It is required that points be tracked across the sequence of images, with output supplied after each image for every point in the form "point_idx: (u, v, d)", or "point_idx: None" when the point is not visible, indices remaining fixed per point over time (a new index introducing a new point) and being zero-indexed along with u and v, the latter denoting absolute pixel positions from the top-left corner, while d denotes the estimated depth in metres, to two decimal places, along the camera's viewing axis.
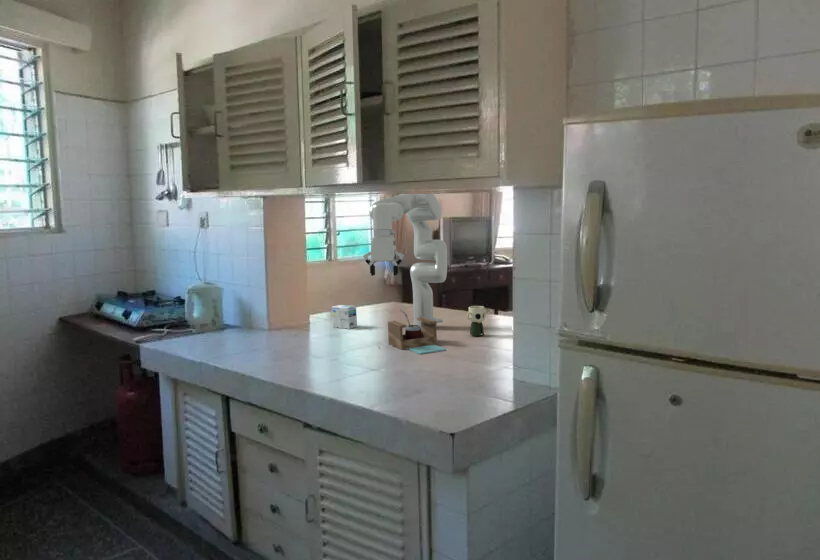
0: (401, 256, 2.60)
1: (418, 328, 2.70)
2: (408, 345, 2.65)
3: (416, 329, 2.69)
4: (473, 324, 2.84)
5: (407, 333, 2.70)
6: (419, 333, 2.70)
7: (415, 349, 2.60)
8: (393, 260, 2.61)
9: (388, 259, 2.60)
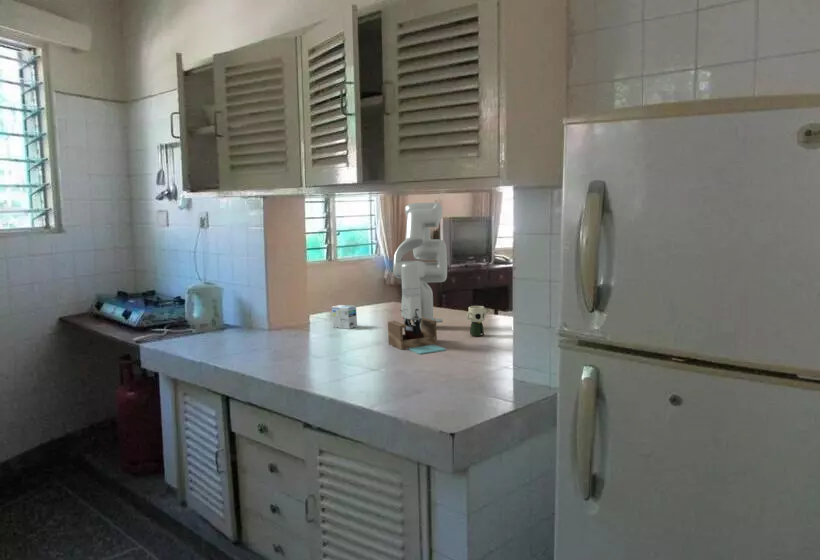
0: None
1: None
2: (408, 345, 2.65)
3: None
4: (473, 324, 2.84)
5: (407, 333, 2.70)
6: None
7: (415, 349, 2.60)
8: None
9: None
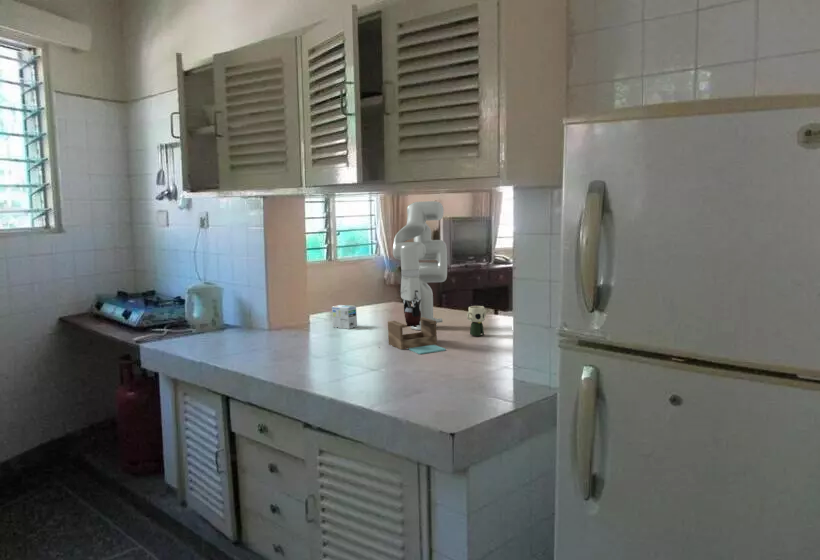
0: None
1: None
2: (408, 345, 2.65)
3: None
4: (473, 324, 2.84)
5: (406, 314, 2.70)
6: None
7: (415, 349, 2.60)
8: None
9: None
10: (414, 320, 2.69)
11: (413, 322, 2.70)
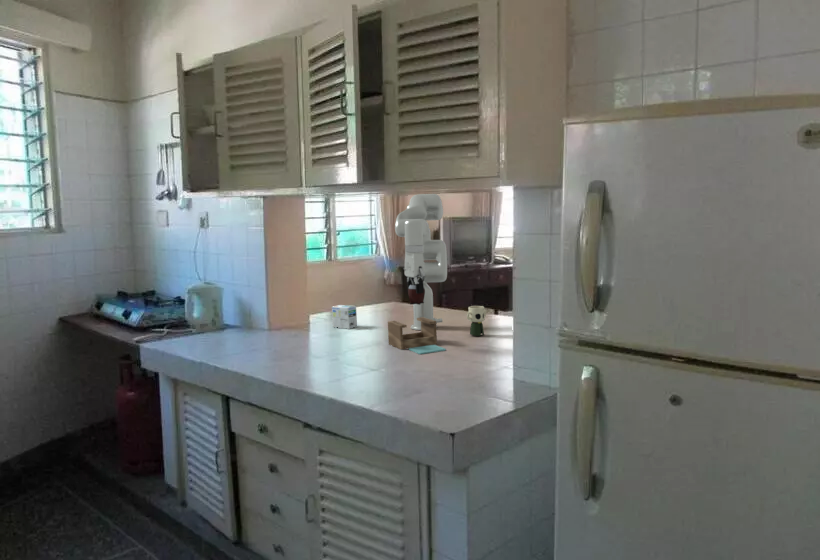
0: None
1: None
2: (408, 345, 2.65)
3: None
4: (473, 324, 2.84)
5: (410, 291, 2.64)
6: None
7: (415, 349, 2.60)
8: None
9: None
10: (418, 297, 2.63)
11: (417, 299, 2.64)
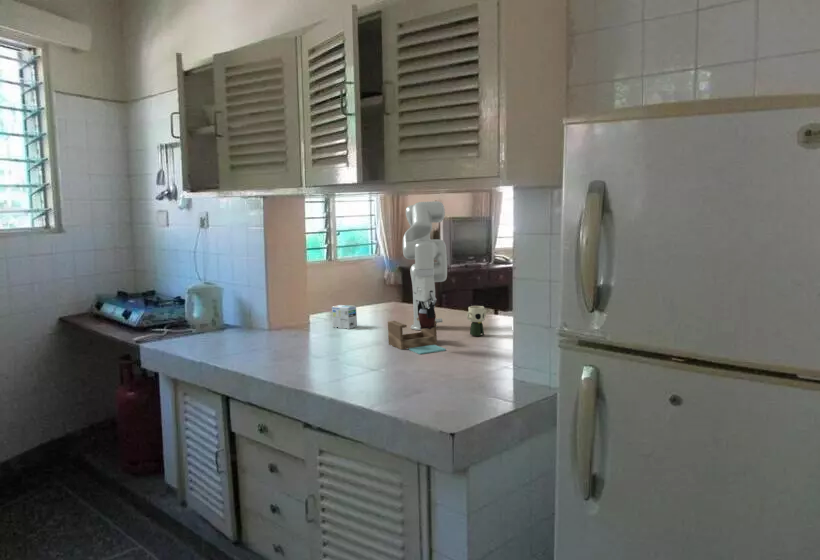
0: None
1: None
2: (408, 345, 2.65)
3: None
4: (473, 324, 2.84)
5: (420, 316, 2.57)
6: None
7: (415, 349, 2.60)
8: None
9: None
10: (428, 322, 2.57)
11: (427, 324, 2.58)
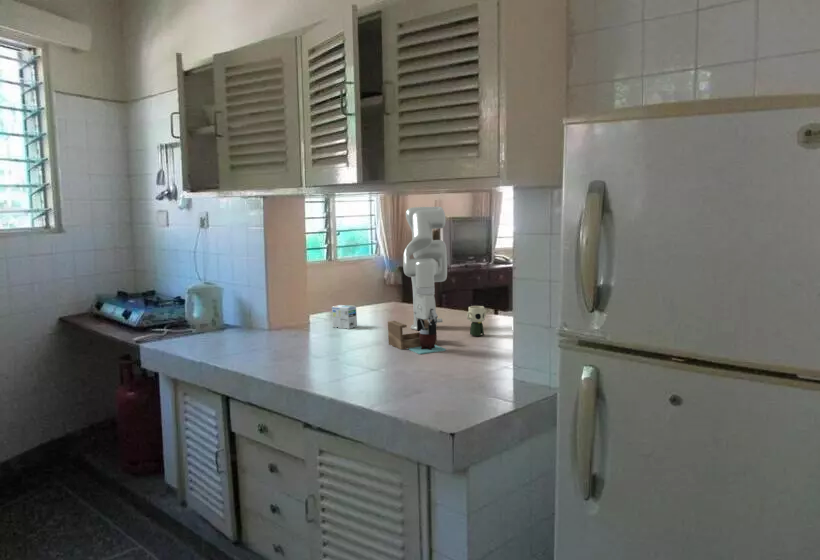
0: None
1: None
2: (408, 345, 2.65)
3: None
4: (473, 324, 2.84)
5: (421, 337, 2.59)
6: (434, 337, 2.59)
7: (415, 349, 2.60)
8: None
9: None
10: (429, 342, 2.58)
11: (428, 344, 2.59)
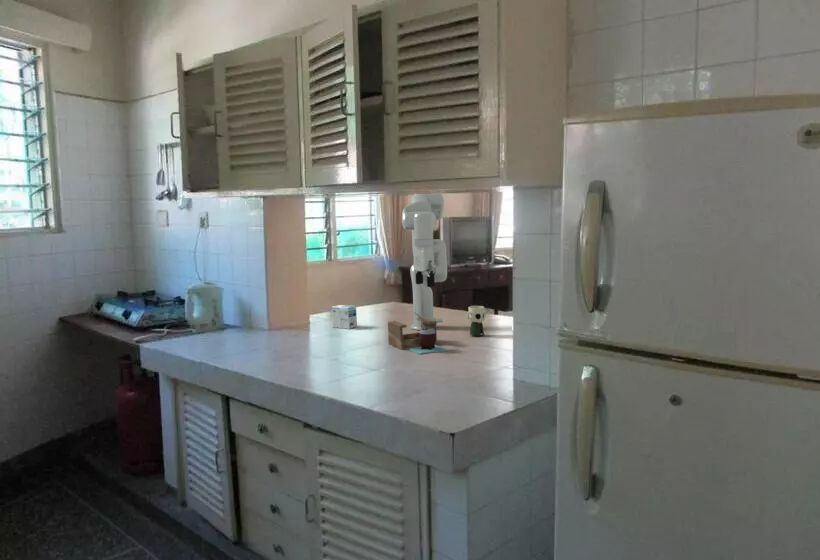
0: None
1: (433, 331, 2.59)
2: (408, 345, 2.65)
3: (430, 332, 2.58)
4: (473, 324, 2.84)
5: (421, 337, 2.59)
6: (434, 337, 2.59)
7: (415, 349, 2.60)
8: None
9: None
10: (429, 342, 2.58)
11: (428, 344, 2.59)
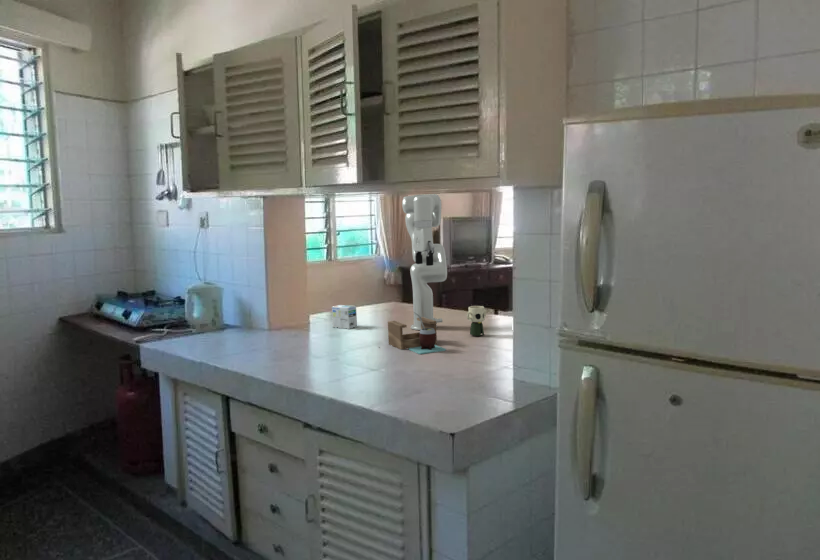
0: None
1: (433, 331, 2.59)
2: (408, 345, 2.65)
3: (430, 332, 2.58)
4: (473, 324, 2.84)
5: (421, 337, 2.59)
6: (434, 337, 2.59)
7: (415, 349, 2.60)
8: None
9: None
10: (429, 342, 2.58)
11: (428, 344, 2.59)
